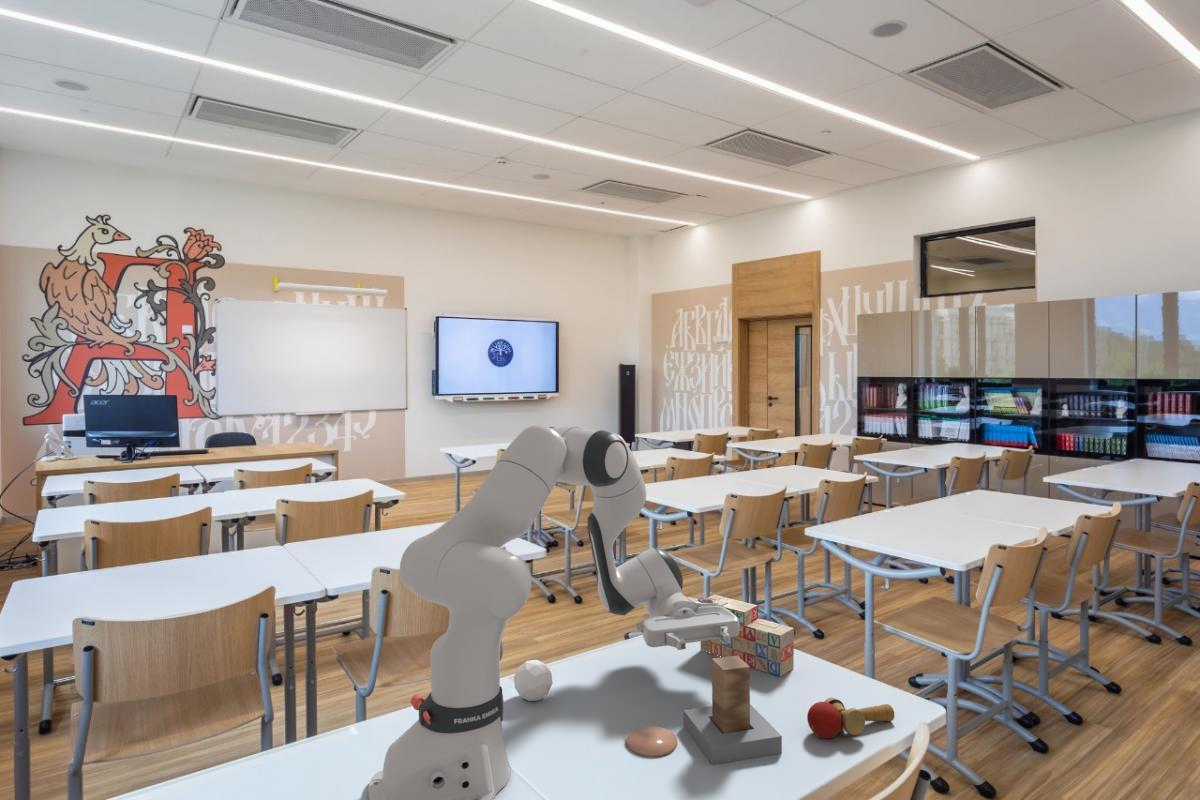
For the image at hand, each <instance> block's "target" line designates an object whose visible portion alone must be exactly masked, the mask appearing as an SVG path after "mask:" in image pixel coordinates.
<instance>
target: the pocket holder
mask: <svg viewBox="0 0 1200 800" xmlns="http://www.w3.org/2000/svg"><path fill="white" fill-rule="evenodd" d="M683 727H684V728H685V730H686V731H687V732H688V734H689V735H690V737H691V738H692V740H693V741H694V742H695V743H696V745H697V746H698V748H699V749H700V750H701V752H702V753H703V754H704V755H705V757H706V758H707V760H708V761H709V762H710V764H711V765H717V764H723V763H729V762H736V761H742V760H747V759H749V760H750V759H753V758H760V757H766V756H773V755H778V754H779V755H780V754H782V753H783V750H782V749H783V738H782V737H783V736H782V734H780V732H778V731H777V730H776V728H775V727H773V725H771V724H770V723H769V721H767V720H766V719H765V717H764V716H763V715H762V714H761V713H760V712H759V711H758V710H757V709H756V708H755V707H754V706H753V705H752V704H751V703H750V730H745V731H738V732H732V733H725V734H722V733H721V732H720V731H719V730H718V728H717V727H716V726H715V725H714V723H713V722H712V705H711V706H705V707H698V708H691V709H684V710H683Z"/></svg>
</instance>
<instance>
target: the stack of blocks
mask: <svg viewBox="0 0 1200 800" xmlns="http://www.w3.org/2000/svg"><path fill="white" fill-rule="evenodd" d="M704 599H707V600H716V601H717V602H718V605H719V606H720V607H724V608H726V609H727V610H729V611H730V612H732V613H733V614H734V615H735V616H736V617H737V618H738V619H739V634H738V636H737V637H730V643H728V644H722V643H721V642H720V639H714V640H707V641H700V651H701V650H704V651H707V652H710V653H712V654H715V655H718V656H721V657H729V656H738V657H740V658H741V659H742V660H743V661H744V662H745V663H746V664H747V665H748V666H749V667H750V668H753V669H756V670H758V671H761V672H765V673H768V674H770V675H773V676H776V677H778V678H779V677H783V676H784V675H785V674H787V673H788V672H790V671H793V669H794V667H795V666H794V665H795V664H794V663H795V662H794V655H795V654H794V653H795V651H794V649H795V646H794V641H795V628H794V627H792V626H788V625H784V624H781V623H777V622H773V621H770V620H766V619H763V618H759V605H757V604H755V603H749V602H745V601H741V600H738V599H733V598H729V597H725V596H722V595H718V594H713V595H711V596H708V597H706V598H704ZM704 651H703V652H704ZM707 652H706V653H707ZM710 653H709V654H710ZM712 654H711V655H712ZM715 655H714V656H715ZM718 656H717V657H718ZM721 657H720V658H721Z"/></svg>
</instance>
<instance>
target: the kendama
mask: <svg viewBox="0 0 1200 800" xmlns="http://www.w3.org/2000/svg"><path fill="white" fill-rule="evenodd" d="M806 718H807V723H808V726H809V729H810V730H811V731H812V733H814V735H816V736H817V737H818V738H820V739H831V738H835V737H836V736H837V735H838V734H839V733H840V732H841V729H843V730H844V731H845V732H846V733H847V734H849V735H853V736H857V735H859V734H861V733H862V732H863V730H864V728H865V726H866V722H893V720H894V718H895V710H894V708H893V707H892V705H891V704H889V703H885V704H881V705H875V706H868V707H867V706H866V707H862V708H858V709H857V708H855V707H851V708H848V709H846V708H845V705H844V703H843V702H842V701H841V700H840V699H838V698H836V697H828V698H825V700H824V701H818V702H815V703H814V704H813V705H811V706H810V707H809V709H808V711H807V716H806Z"/></svg>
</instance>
